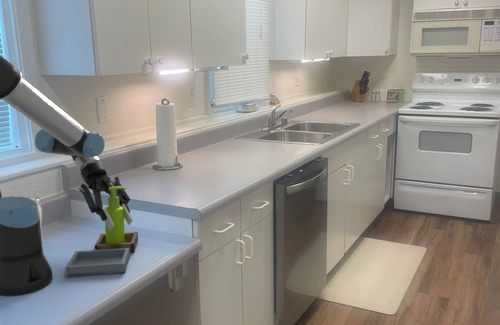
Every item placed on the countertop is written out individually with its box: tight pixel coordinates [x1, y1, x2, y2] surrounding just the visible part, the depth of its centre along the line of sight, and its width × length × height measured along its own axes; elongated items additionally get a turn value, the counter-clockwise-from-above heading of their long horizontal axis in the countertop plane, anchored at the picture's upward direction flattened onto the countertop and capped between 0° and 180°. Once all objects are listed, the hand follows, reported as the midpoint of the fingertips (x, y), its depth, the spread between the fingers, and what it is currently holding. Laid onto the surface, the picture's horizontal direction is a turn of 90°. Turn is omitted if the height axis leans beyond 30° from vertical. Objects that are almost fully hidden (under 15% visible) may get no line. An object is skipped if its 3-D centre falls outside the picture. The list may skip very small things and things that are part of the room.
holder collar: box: [94, 231, 139, 254], centre depth 159 cm, size 12×11×3 cm
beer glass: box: [26, 196, 45, 243], centre depth 164 cm, size 7×7×15 cm
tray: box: [65, 248, 131, 278], centre depth 144 cm, size 16×12×3 cm
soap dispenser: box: [104, 185, 127, 244], centre depth 158 cm, size 6×7×20 cm
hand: (121, 225), depth 155 cm, fingers closed on soap dispenser, 6 cm apart
